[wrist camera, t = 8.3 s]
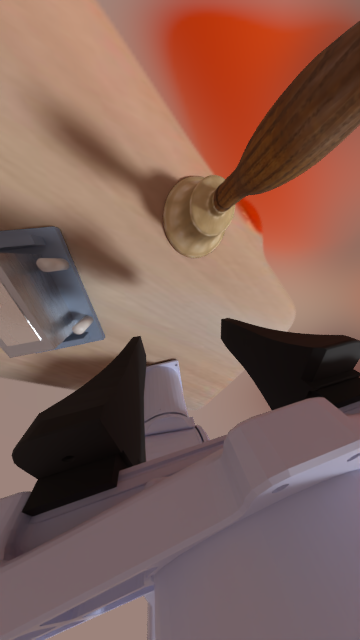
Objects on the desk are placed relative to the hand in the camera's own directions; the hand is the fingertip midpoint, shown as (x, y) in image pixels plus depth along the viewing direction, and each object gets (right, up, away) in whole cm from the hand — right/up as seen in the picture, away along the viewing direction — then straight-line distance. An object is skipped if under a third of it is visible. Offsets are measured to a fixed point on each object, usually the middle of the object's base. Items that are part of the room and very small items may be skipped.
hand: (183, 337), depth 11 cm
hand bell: (+2, +14, +5) cm, 15 cm away
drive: (-17, +4, +4) cm, 18 cm away
